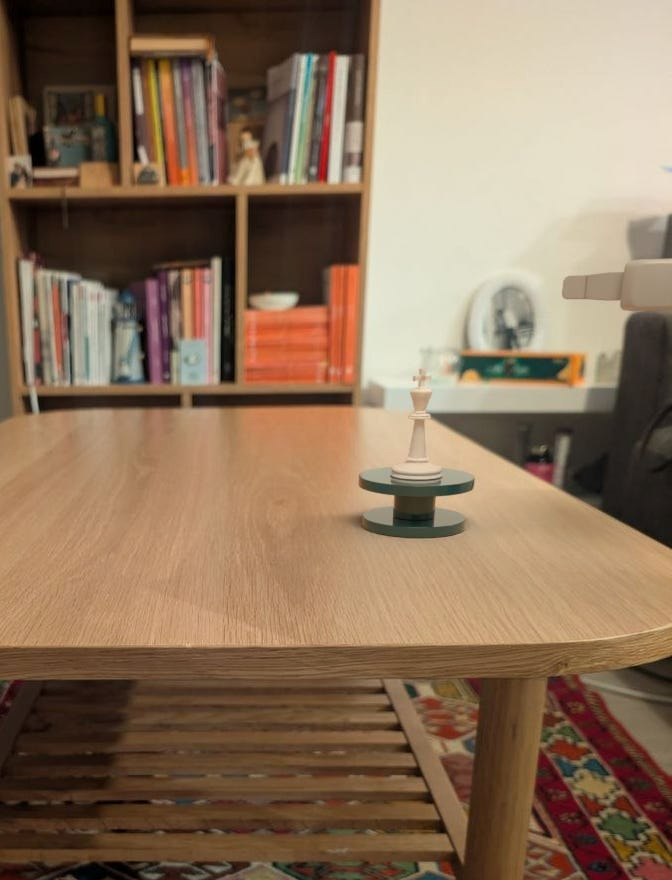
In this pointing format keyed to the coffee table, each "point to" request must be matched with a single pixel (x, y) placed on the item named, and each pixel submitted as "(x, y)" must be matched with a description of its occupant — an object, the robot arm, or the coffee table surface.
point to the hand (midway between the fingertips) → (569, 287)
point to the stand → (415, 504)
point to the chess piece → (418, 437)
